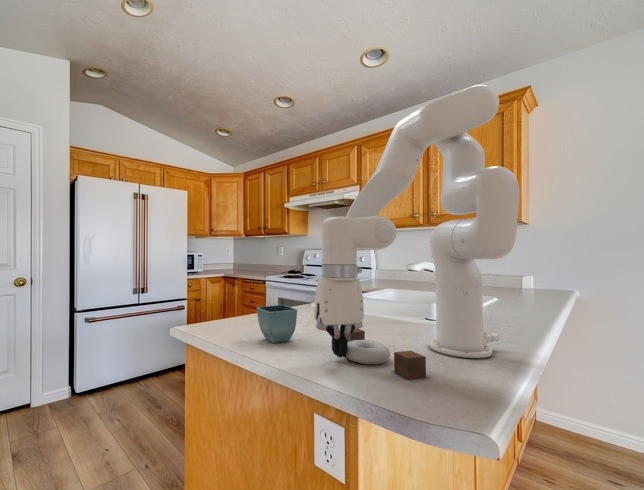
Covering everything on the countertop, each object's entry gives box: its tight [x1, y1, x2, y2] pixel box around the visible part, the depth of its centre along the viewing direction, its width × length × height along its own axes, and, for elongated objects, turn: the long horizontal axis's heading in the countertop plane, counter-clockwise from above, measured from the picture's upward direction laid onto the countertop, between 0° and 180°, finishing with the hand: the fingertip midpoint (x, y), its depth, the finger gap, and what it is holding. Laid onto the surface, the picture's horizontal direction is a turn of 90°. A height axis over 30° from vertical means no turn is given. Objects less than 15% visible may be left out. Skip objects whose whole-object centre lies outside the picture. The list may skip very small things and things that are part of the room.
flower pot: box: [256, 304, 298, 344], centre depth 88 cm, size 9×9×9 cm
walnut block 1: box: [348, 328, 366, 342], centre depth 83 cm, size 4×4×4 cm
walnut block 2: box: [393, 350, 427, 380], centre depth 62 cm, size 4×4×4 cm
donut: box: [345, 339, 391, 365], centre depth 72 cm, size 10×4×10 cm
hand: (339, 355), depth 71 cm, fingers closed
